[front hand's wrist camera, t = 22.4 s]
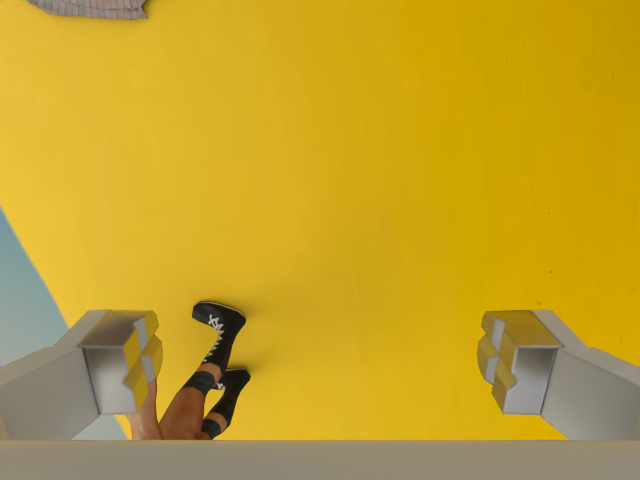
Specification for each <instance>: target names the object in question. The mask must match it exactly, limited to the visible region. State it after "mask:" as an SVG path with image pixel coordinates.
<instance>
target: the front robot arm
mask: <svg viewBox="0 0 640 480" xmlns="http://www.w3.org/2000/svg"><path fill="white" fill-rule="evenodd" d="M158 326H159V325H158V320H157V315H156V314H155V312H154V311H149V310H111V309H109V310H90V311H88V312H87V313H86V314H85V315H84V316H83V317H82V318H81V319H80V320H79V321H78V322H77V323H76V324H75V325H74V326H73V327H72V328H71V329H70V330H69V331H68V332H67V333H66V334H65V335H64V336H63V337H62V338H61V339H60V340H59V341H58V342H57V343H56V344H55V345H54V346H53V347H52V348H43V349H41V350H38V351H36V352H34V353H32V354H29V355H27V356H25V357H23V358H21V359H18V360H16V361H14V362H11V363H9V364H7V365H5V366H2V367H0V480H640V367H637V366H635V365H633V364H631V363H629V362H626V361H624V360H622V359H620V358H617V357H615V356H613V355H611V354H608V353H606V352H604V351H602V350H599V349H597V348H588V347H587V346H586V345H585V344H584V343H583V342H582V341H581V340H580V339H579V338H578V337H577V336H576V335H575V334H574V333H573V332H572V331H571V330H570V329H569V328H568V327H567V326H566V325H565V324H564V323H563V322H562V321H561V320H560V318H559V317H558V316H557V315H556V314H555V313H554V312H553V311H550V310H547V309H543V310H511V311H486V312H485V314H484V316H483V319H482V325H481V326H482V328H483V330H484V331H485V333H486V334H485V335H484V336H483V338H482V339H481V340H480V341H479V343H478V350H477V357H478V365H479V369H480V372H481V374H482V376H483V378H484V380H486V381H487V382H489V383H490V384H492V385H493V387H492V395H493V397H494V398H495V400H496V402H497V404H498V406H499V408H500V409H501V411H502V413H503V414H520V415H541V417H542V418H543V419H544V420H545V421H547V422H548V423H549V424H551V425H552V426H553V427H554V428H556V429H557V430H558V431H559V432H561V433H562V434H563V435H565V436H566V437H567V438H568V439H570V440H70V439H72V438H73V437H74V436H76V435H77V434H78V433H79V432H80V431H82V430H83V429H84V428H86V427H87V426H88V425H90V424H91V423H92V422H93V421H95V420H96V419H97V418H99V415H120V414H137V413H138V411H139V409H140V408H141V406H142V404H143V402H144V400H145V398H146V397H147V395H148V387H147V385H148V384H150V383H151V382H153V381H154V380H156V378H157V376H158V374H159V372H160V369H161V364H162V360H163V349H162V342H161V341H160V340H159V339H158V338H157V336H156V335H155V334H154V333H155V331H156V330H157V328H158Z"/></svg>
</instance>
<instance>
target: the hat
mask: <svg viewBox="0 0 640 480" xmlns="http://www.w3.org/2000/svg"><path fill="white" fill-rule="evenodd" d="M27 1H28V2H29V3H30V4H32V5H34V6H36V7H38V8H40V9H42V10H44V11H45V12H47V13H52V14H54V15H59V16H76V14H77V15H78V16H79V15H81V16H84V17H100V18H101V17H102V18H108V19H114V18H115V19H120V18H124V19H131V20H134V19H138V18H139V17H141V18H145V19H147V18H148V17H147V15H146V14H145V13H144V11H143V10H142V7H141V6H142V4H143V3H144V2H145V1H146V0H27Z"/></svg>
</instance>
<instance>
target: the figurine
mask: <svg viewBox="0 0 640 480" xmlns="http://www.w3.org/2000/svg"><path fill="white" fill-rule="evenodd" d="M192 318H194V319H196V320H198V321H199V322H202V323H204V324H207V325H210V326H212V327H213V328H215V329H216V330H217V332H218V334H219V336H218V339H217V341H216V343H215V344H214V346H213V348H212V349H211V350H210V352H209V353H208V354H207V356H206V357H205V358H204V360H203V361H202V363H201V365H200V366H199V368H198V369H197V370H196V372H195V373H194V374H193V375H192V377H191V378H190V379H189V380H188V381H187V382H186V384H185V385H184V386H183V387H182V388H181V389H180V390H179V391H178V392H177V394H176V395H175V397H174V399H173V400H172V402H171V403H170V405H169V407H168V408H167V410H166V412H165V414H164V415H163V417H162V419H161V421H160V422H159V423H158V420H157V415H156V395H157V378H156V380H154V381H153V382H151V383H150V384H148V385H147V387H148V395H147V397H146V398H145V400H144V402H143V404H142V406H141V408H140V409H139V411H138V413H137V414H125V416H126V417H127V419H128V420H129V422H130V425H131V431H132V440H212V439H213V438H214V437H216V436H218V435H219V434H221V433H223V432H224V431H225V430H226V429H227V427H228V426H229V425H230V423H231V419H232V416H233V413H234V409H235V405H236V401H237V398H238V396H239V394H240V392H241V390H242V389H243V387H244V386H245V385H246V384H247V383H248V381H249V380H250V377H251V376H250V373H249V372H248V371H247V369H246V368H241V369H226V367H227V364H228V361H229V357H230V353H231V349H232V345H233V342H234V340H235V337H236V335H237V334H238V332H239V331H240V329H241V328H242V327H243V326H244V324H245V322H246V319H245V316H244V315H243V314H242V313H241V312H240V311H238V310H236V309H233V308H230V307H227V306H224V305H221V304H218V303H213V302H200V303H198V304H196V305H195V306H194V308H193V313H192ZM210 389H217V390H225V391H224V394H223V396H222V397H221V399H220V400H219V401H218V402H217V404H216V405H215V406H214V407H213V408H212V409H211V410H210V412H209V413H208V414H207V416H206V417H205V418H204V419H203V417H204V403H205V398H206V395H207V393H208V391H209V390H210Z"/></svg>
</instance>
